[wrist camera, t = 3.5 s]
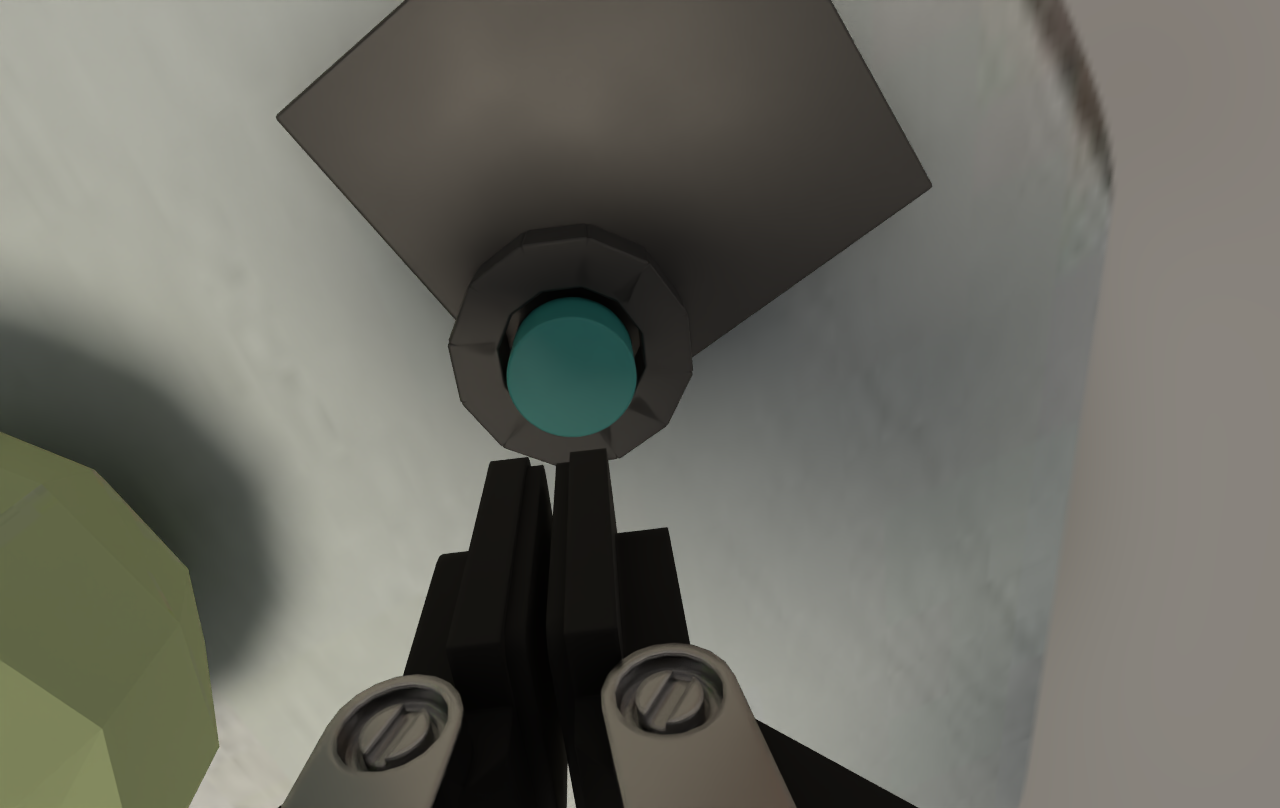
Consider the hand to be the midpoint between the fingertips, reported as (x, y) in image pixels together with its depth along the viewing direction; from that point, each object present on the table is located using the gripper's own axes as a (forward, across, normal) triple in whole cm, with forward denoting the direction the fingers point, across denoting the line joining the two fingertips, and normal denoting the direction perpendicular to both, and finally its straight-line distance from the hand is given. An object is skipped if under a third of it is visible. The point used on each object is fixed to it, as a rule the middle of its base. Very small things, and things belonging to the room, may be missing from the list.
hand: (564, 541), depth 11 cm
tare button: (+8, 0, 0) cm, 8 cm away
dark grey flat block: (+11, -2, -4) cm, 12 cm away
